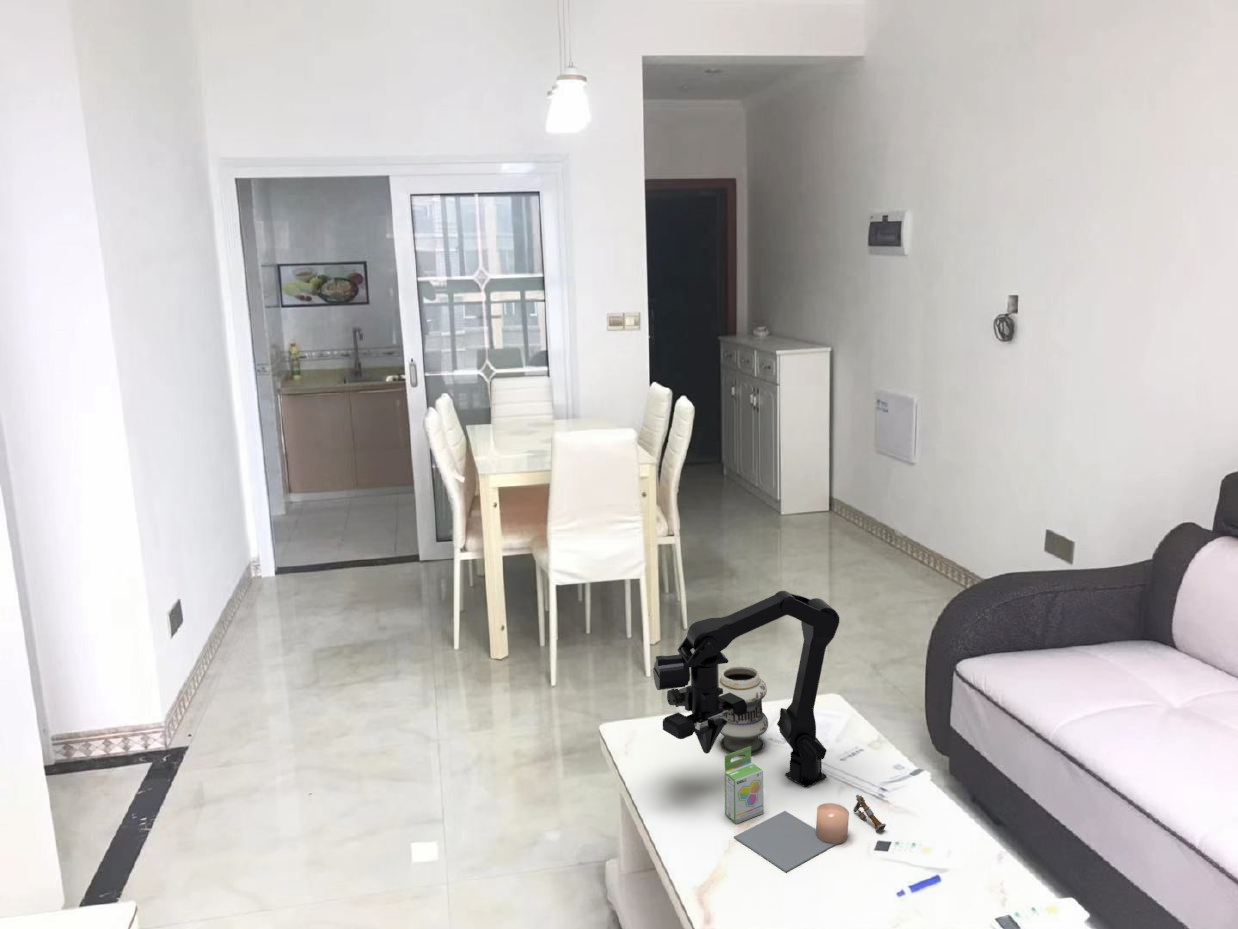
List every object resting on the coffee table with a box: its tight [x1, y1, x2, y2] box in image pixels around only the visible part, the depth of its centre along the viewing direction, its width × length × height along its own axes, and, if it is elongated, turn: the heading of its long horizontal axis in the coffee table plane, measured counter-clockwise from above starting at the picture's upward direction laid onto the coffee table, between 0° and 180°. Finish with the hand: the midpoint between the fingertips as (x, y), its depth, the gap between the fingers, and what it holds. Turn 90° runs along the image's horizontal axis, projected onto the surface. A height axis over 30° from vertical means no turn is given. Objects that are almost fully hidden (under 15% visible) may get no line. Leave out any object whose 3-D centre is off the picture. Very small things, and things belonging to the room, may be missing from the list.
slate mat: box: [733, 810, 838, 874], centre depth 187 cm, size 14×14×1 cm
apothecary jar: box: [719, 665, 769, 757], centre depth 222 cm, size 12×12×18 cm
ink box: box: [724, 746, 765, 825], centre depth 195 cm, size 7×4×13 cm, turn 120°
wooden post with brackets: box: [852, 794, 887, 833], centre depth 192 cm, size 2×8×4 cm, turn 27°
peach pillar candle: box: [815, 802, 850, 845], centre depth 188 cm, size 6×6×5 cm
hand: (706, 752), depth 204 cm, fingers closed
